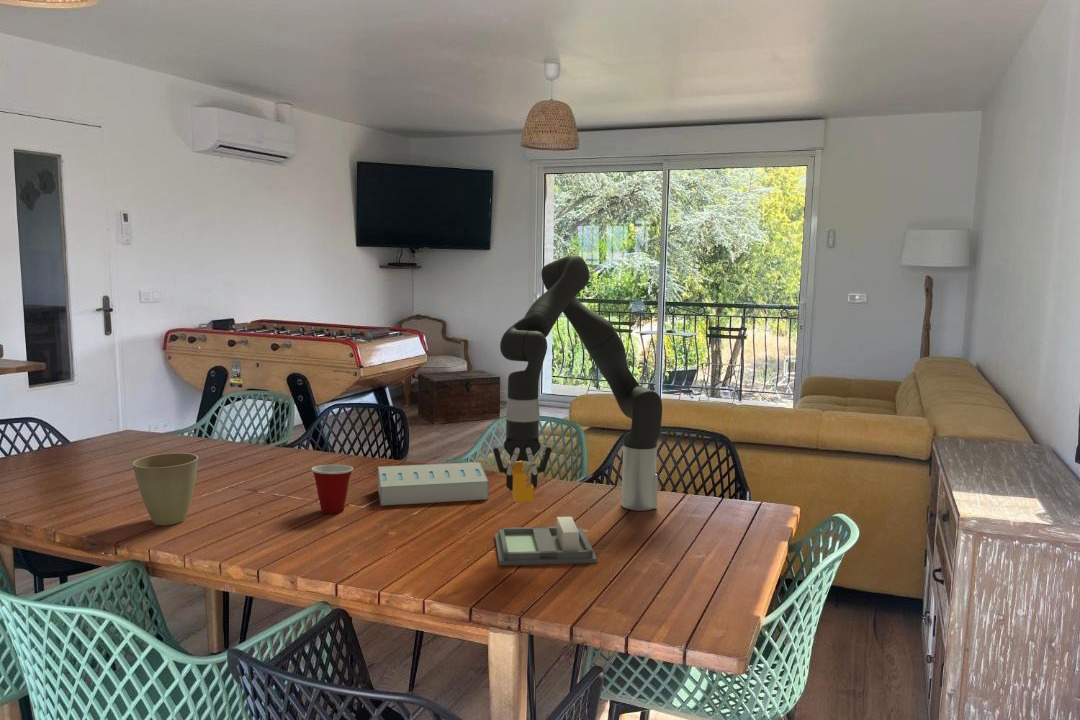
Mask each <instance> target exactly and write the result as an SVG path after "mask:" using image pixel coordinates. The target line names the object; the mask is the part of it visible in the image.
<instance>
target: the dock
mask: <svg viewBox="0 0 1080 720" xmlns="http://www.w3.org/2000/svg"><path fill="white" fill-rule="evenodd" d="M498 529H499V532H495V533H494V540H495V546H496V552H497V557H498V564H499V566H527V565H528V566H531V565H532V566H533V565H536V566H537V565H538V566H539V565H569V564H571V565H572V564H573V565H574V564H576V565H577V564H597V563H598V558H597V557H598V556H597V555H596V554H595V553H596V552H595V551H594V549H593V547H592V544H591V543H590V541H589V539H588V537H587V535H586V533H585V531H584V530H583V529H582V526H580V525H576V523H575V521H574V518H573V516H557V517H556V526H528V527H524V526H523V527H522V526H521V527H520V526H519V527H498Z"/></svg>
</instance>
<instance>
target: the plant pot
mask: <svg viewBox="0 0 1080 720" xmlns="http://www.w3.org/2000/svg"><path fill="white" fill-rule="evenodd" d="M198 464H199V456H198V455H197V454H195V453H190V452H189V453H187V452H168V453H158V454H153V455H148V456H144V457H140V458H138V459H136V460H134V461H133V462H132V467H133V471H134V475H135V479H136V484H137V487H138V490H139V493H140V496H141V498H142V501H143V504H144V506H145V508H146V511H147V512H148V515H149V517H150V519H151V521H152V523H153V524H154V525H156V526H172V525H173V526H174V525H177V524H179V523H183V521H185V520H186V518H187V515H188V511H189V509H190V506H191V502H192V499H193V495H194V490H195V485H196V480H197V475H198V473H197V472H198V466H199V465H198Z"/></svg>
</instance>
